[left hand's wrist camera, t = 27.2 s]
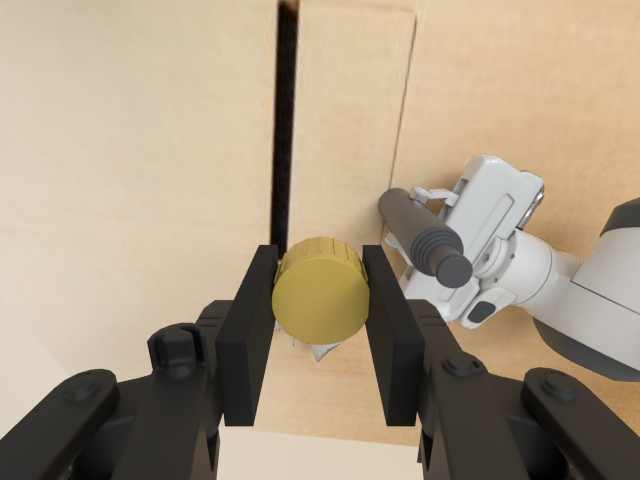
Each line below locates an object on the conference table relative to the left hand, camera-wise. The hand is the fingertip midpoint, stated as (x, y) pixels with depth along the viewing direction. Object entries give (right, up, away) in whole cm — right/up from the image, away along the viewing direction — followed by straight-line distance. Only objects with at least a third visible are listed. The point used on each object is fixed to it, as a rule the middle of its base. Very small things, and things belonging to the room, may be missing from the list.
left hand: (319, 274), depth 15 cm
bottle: (+10, +6, +31) cm, 33 cm away
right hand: (+9, +4, +25) cm, 27 cm away
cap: (0, -1, -2) cm, 2 cm away
